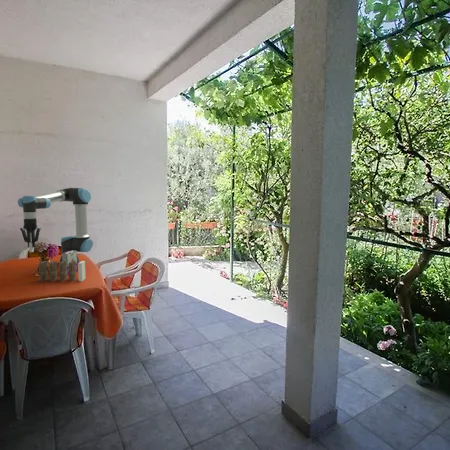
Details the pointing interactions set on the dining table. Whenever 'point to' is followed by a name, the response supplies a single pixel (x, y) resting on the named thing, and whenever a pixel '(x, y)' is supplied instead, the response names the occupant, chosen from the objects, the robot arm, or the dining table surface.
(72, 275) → the tile
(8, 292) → the dining table surface
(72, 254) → the candy bar box
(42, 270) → the tile
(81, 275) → the tile
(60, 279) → the grey brown jagged slab
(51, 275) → the tile
